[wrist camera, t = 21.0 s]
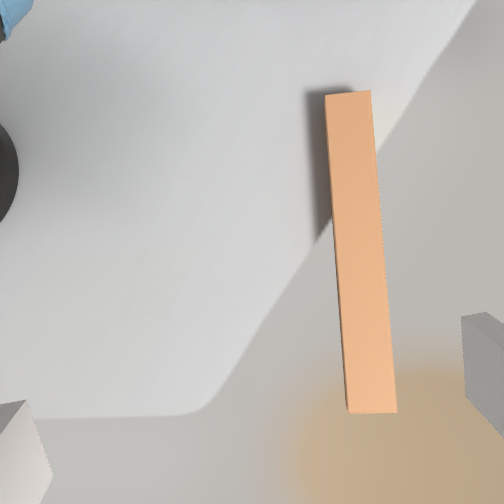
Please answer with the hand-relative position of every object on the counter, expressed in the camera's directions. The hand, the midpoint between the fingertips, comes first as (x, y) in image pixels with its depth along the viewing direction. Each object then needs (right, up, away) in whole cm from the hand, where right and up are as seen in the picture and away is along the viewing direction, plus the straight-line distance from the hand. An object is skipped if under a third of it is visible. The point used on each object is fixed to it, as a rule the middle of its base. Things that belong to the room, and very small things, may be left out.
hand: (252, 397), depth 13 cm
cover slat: (+10, +4, +29) cm, 31 cm away
